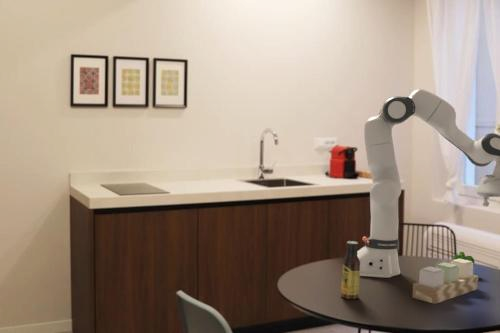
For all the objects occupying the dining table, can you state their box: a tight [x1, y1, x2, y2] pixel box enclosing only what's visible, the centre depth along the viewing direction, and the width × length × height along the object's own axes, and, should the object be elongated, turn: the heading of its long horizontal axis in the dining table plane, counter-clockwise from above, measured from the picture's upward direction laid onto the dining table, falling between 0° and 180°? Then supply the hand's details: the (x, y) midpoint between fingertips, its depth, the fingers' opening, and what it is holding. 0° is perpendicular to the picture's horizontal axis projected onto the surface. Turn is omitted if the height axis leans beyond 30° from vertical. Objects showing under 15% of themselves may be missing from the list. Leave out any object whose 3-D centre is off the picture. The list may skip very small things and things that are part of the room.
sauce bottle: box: [340, 240, 361, 300], centre depth 216 cm, size 7×6×20 cm
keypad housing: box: [412, 274, 479, 305], centre depth 224 cm, size 29×9×5 cm, turn 131°
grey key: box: [418, 266, 444, 288], centre depth 217 cm, size 6×6×7 cm
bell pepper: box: [453, 251, 475, 269], centre depth 249 cm, size 8×8×10 cm
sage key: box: [434, 262, 459, 283], centre depth 223 cm, size 6×6×7 cm
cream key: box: [449, 259, 474, 279], centre depth 230 cm, size 6×6×7 cm
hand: (494, 206), depth 234 cm, fingers open, 8 cm apart
